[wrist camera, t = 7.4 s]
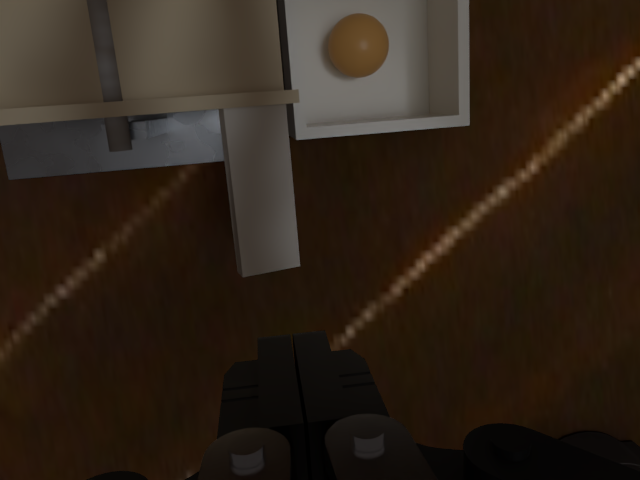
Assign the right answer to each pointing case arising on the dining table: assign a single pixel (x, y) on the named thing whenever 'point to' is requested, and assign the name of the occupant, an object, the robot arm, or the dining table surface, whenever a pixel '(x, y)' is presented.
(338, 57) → the ball
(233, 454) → the robot arm
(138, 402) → the dining table surface
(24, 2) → the chute
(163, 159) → the stand
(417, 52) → the open grey tray box
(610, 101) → the dining table surface
